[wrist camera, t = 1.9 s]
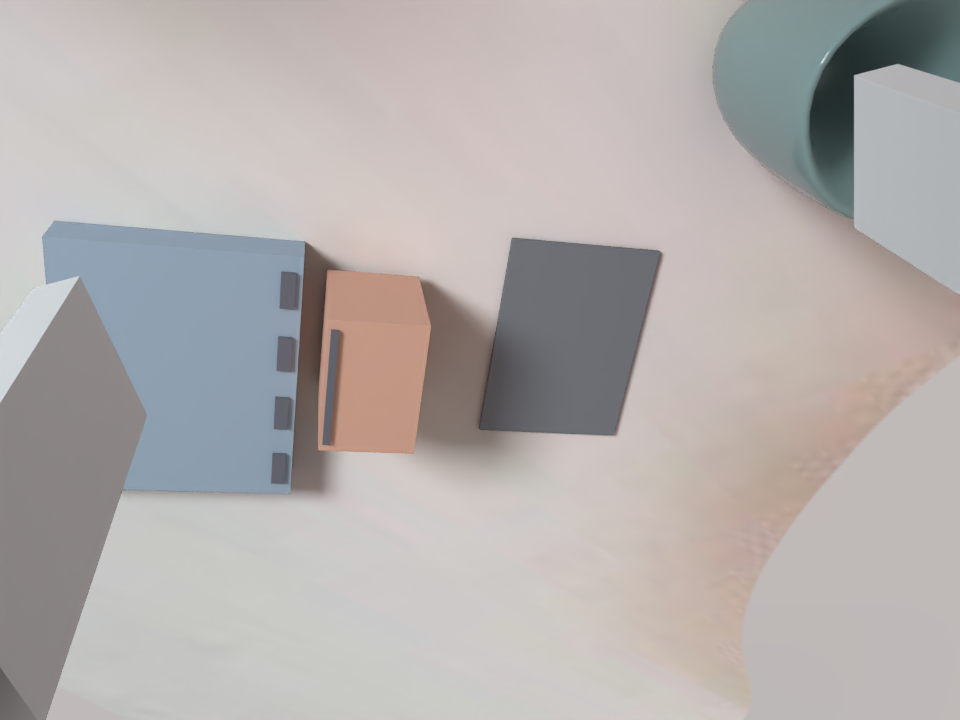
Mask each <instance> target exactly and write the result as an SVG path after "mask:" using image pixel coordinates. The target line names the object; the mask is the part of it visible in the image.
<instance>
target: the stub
mask: <svg viewBox="0 0 960 720" xmlns="http://www.w3.org/2000/svg"><path fill="white" fill-rule="evenodd" d="M430 331H431V324H430V319H429V315H428V311H427V307H426V303H425V299H424V295H423V291H422V287H421V283H420V279H419V277H416V276H403V275H390V274H377V273H364V272H351V271H338V270H327V279H326V293H325V307H324V320H323V334H322V347H321V361H320V375H319V388H318V450H323V451H352V452H381V453H409V454H414V450H415V442H416V435H417V427H418V420H419V413H420V405H421V398H422V391H423V383H424V376H425V368H426V361H427V354H428V346H429V339H430Z"/></svg>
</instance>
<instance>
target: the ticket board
mask: <svg viewBox="0 0 960 720" xmlns="http://www.w3.org/2000/svg"><path fill="white" fill-rule="evenodd" d="M42 240H43V252H44V264H45V276H46V284H50V283H54V282H58V281H62V280H66V279H70V278H73V277H77V276H80V277H81V279H82V281H83V283H84V285H85V287H86V289H87V292H88V294H89V296H90V298H91V300H92V302H93V304H94V306H95V308H96V310H97V312H98V314H99V316H100V318H101V320H102V322H103V325H104V327H105V329H106V331H107V333H108V335H109V337H110V339H111V341H112V343H113V345H114V347H115V349H116V351H117V353H118V355H119V358H120V360H121V362H122V364H123V366H124V368H125V370H126V372H127V374H128V376H129V378H130V380H131V382H132V384H133V386H134V389H135V391H136V393H137V395H138V397H139V399H140V401H141V403H142V405H143V407H144V409H145V411H146V413H147V418H146V421H145V424H144V427H143V430H142V433H141V436H140V439H139V442H138V445H137V448H136V451H135V454H134V457H133V460H132V463H131V466H130V469H129V472H128V475H127V478H126V481H125V484H124V487H123V490H156V491H197V492H237V493H277V494H290V488H291V471H292V455H293V438H294V422H295V405H296V389H297V372H298V356H299V339H300V323H301V306H302V289H303V273H304V256H305V242H301V241H289V240H277V239H265V238H253V237H241V236H229V235H217V234H205V233H193V232H181V231H169V230H157V229H144V228H132V227H120V226H108V225H96V224H84V223H72V222H60V221H54V222H53V224H52V225H51V226H50V227H49V229H48V230H47V231H46V232H45V234H44V235H43V236H42Z"/></svg>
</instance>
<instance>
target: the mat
mask: <svg viewBox="0 0 960 720" xmlns="http://www.w3.org/2000/svg"><path fill="white" fill-rule="evenodd" d="M659 256H660V251H656V250H644V249H633V248H622V247H610V246H599V245H588V244H576V243H565V242H554V241H542V240H531V239H520V238H512V241H511V247H510V252H509V258H508V264H507V270H506V276H505V281H504V287H503V293H502V299H501V304H500V310H499V316H498V322H497V328H496V333H495V339H494V345H493V351H492V357H491V362H490V368H489V374H488V380H487V385H486V391H485V397H484V403H483V409H482V414H481V420H480V426H479V429H480V430H498V431H522V432H547V433H571V434H595V435H614V431H615V428H616V424H617V420H618V416H619V412H620V408H621V404H622V400H623V396H624V392H625V388H626V385H627V381H628V377H629V373H630V369H631V365H632V361H633V357H634V353H635V349H636V345H637V342H638V338H639V334H640V330H641V326H642V322H643V318H644V314H645V310H646V306H647V302H648V299H649V295H650V291H651V287H652V283H653V279H654V275H655V271H656V267H657V263H658V259H659Z"/></svg>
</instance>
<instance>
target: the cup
mask: <svg viewBox="0 0 960 720" xmlns="http://www.w3.org/2000/svg"><path fill="white" fill-rule="evenodd" d="M895 64H900V65H903V66H907V67H910V68H913V69H916V70H920V71H923V72H926V73H929V74H932V75H936V76H939V77H942V78H945V79H949V80H952V81H955V82H958V83H960V0H746V1H745V2H744V3H743V4H742V5H741V6H740V7H739V8H738V9H737V10H736V11H735V13H734V14H733V15H732V16H731V17H730V19H729V20H728V22H727V24H726V25H725V27H724V29H723V30H722V32H721V34H720V37H719V40H718V43H717V46H716V48H715V54H714V61H713V85H714V90H715V95H716V100H717V104H718V107H719V109H720V112H721V114H722V117H723V119H724V121H725V123H726V124H727V126H728V127H729V129H730V131H731V132H732V134H733V135H734V137H735V139H736V140H737V141H738V142H739V143H740V144H741V146H742V147H743V148H744V149H745V150H746V151H747V152H748V153H749V154H751V155H752V156H753V157H754V158H755V159H756V160H757V161H758V162H759V163H760V164H761V165H762V166H764V167H765V168H766V169H767V170H769V171H770V172H771V173H773V174H774V175H776V176H777V177H778V178H780V179H781V180H783V181H784V182H786V183H787V184H789V185H790V186H792V187H793V188H795V189H796V190H798V191H800V192H801V193H803V194H804V195H806V196H807V197H809V198H811V199H812V200H814V201H815V202H817V203H819V204H821V205H823V206H824V207H826V208H828V209H830V210H832V211H833V212H835V213H837V214H839V215H841V216H843V217H846V218H851V219H854V75H857V74H861V73H865V72H868V71H872V70H876V69H880V68H884V67H888V66H892V65H895Z"/></svg>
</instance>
